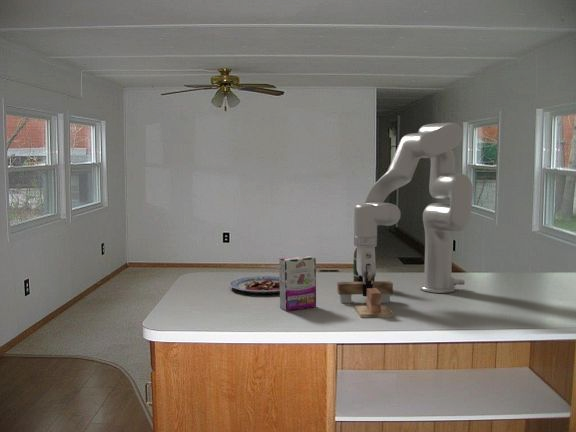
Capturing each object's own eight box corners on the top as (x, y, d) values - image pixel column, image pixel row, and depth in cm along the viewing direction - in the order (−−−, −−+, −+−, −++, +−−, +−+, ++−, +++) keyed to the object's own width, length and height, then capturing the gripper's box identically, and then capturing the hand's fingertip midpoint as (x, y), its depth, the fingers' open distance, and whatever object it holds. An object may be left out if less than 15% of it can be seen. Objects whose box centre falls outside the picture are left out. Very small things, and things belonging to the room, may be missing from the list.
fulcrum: (385, 308, 185) (385, 286, 185) (393, 316, 175) (393, 294, 175) (354, 309, 185) (354, 287, 184) (360, 317, 175) (360, 294, 174)
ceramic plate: (313, 290, 211) (313, 282, 211) (252, 300, 197) (252, 292, 197) (274, 279, 233) (274, 271, 232) (217, 287, 218) (217, 279, 218)
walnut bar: (390, 291, 196) (390, 281, 196) (392, 293, 192) (392, 283, 192) (337, 292, 195) (337, 282, 195) (338, 294, 191) (339, 284, 191)
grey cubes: (388, 300, 196) (388, 291, 195) (389, 302, 193) (390, 293, 193) (339, 301, 195) (339, 292, 194) (340, 303, 192) (340, 294, 192)
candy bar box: (309, 304, 191) (309, 254, 190) (316, 307, 187) (316, 257, 185) (278, 308, 186) (278, 257, 185) (285, 311, 182) (285, 260, 180)
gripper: (382, 245, 184) (381, 299, 185) (371, 237, 201) (370, 287, 203) (359, 245, 183) (358, 299, 185) (349, 238, 200) (349, 287, 202)
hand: (364, 292), depth 194 cm, fingers open, 8 cm apart
